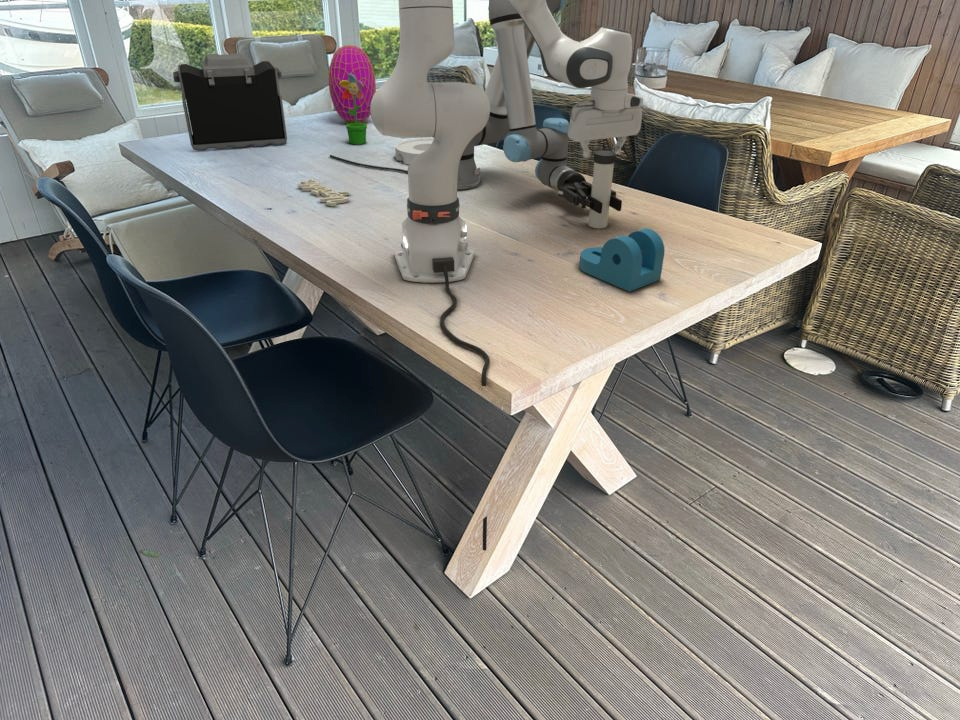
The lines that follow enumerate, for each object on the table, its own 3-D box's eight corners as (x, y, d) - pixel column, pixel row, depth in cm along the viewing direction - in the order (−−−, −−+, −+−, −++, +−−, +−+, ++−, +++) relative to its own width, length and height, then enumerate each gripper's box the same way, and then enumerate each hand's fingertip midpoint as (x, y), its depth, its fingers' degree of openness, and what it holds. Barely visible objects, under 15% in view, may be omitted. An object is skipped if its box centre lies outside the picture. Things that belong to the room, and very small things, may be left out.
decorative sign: (361, 197, 199) (330, 204, 194) (361, 201, 200) (330, 207, 195) (320, 177, 217) (291, 182, 212) (321, 180, 218) (291, 185, 213)
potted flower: (342, 144, 260) (336, 73, 247) (351, 139, 266) (346, 70, 254) (365, 146, 257) (360, 74, 245) (374, 141, 264) (369, 71, 251)
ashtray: (454, 167, 232) (454, 155, 230) (388, 164, 235) (387, 152, 233) (466, 151, 252) (466, 140, 250) (404, 148, 255) (404, 137, 253)
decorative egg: (362, 116, 305) (357, 42, 290) (386, 123, 292) (382, 46, 277) (324, 121, 294) (316, 45, 279) (347, 129, 281) (340, 49, 266)
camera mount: (660, 279, 153) (667, 234, 148) (629, 291, 148) (635, 245, 142) (600, 255, 165) (604, 213, 160) (569, 265, 160) (573, 222, 154)
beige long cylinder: (607, 228, 182) (615, 157, 173) (588, 227, 183) (595, 157, 173) (606, 222, 187) (614, 153, 177) (588, 221, 187) (594, 152, 178)
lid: (615, 164, 173) (616, 156, 172) (593, 163, 174) (594, 155, 173) (614, 159, 178) (615, 151, 177) (593, 158, 179) (594, 150, 178)
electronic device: (284, 132, 276) (273, 51, 260) (292, 144, 258) (281, 58, 243) (187, 139, 264) (169, 54, 249) (188, 152, 246) (169, 62, 231)
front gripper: (580, 105, 163) (574, 163, 170) (648, 98, 171) (640, 154, 178) (565, 100, 168) (561, 156, 175) (632, 93, 176) (625, 148, 183)
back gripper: (594, 192, 201) (638, 217, 182) (539, 199, 195) (578, 225, 176) (597, 166, 197) (642, 189, 178) (540, 172, 191) (580, 196, 172)
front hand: (601, 155), depth 177 cm, fingers open, 8 cm apart
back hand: (610, 207), depth 177 cm, fingers closed on beige long cylinder, 5 cm apart
